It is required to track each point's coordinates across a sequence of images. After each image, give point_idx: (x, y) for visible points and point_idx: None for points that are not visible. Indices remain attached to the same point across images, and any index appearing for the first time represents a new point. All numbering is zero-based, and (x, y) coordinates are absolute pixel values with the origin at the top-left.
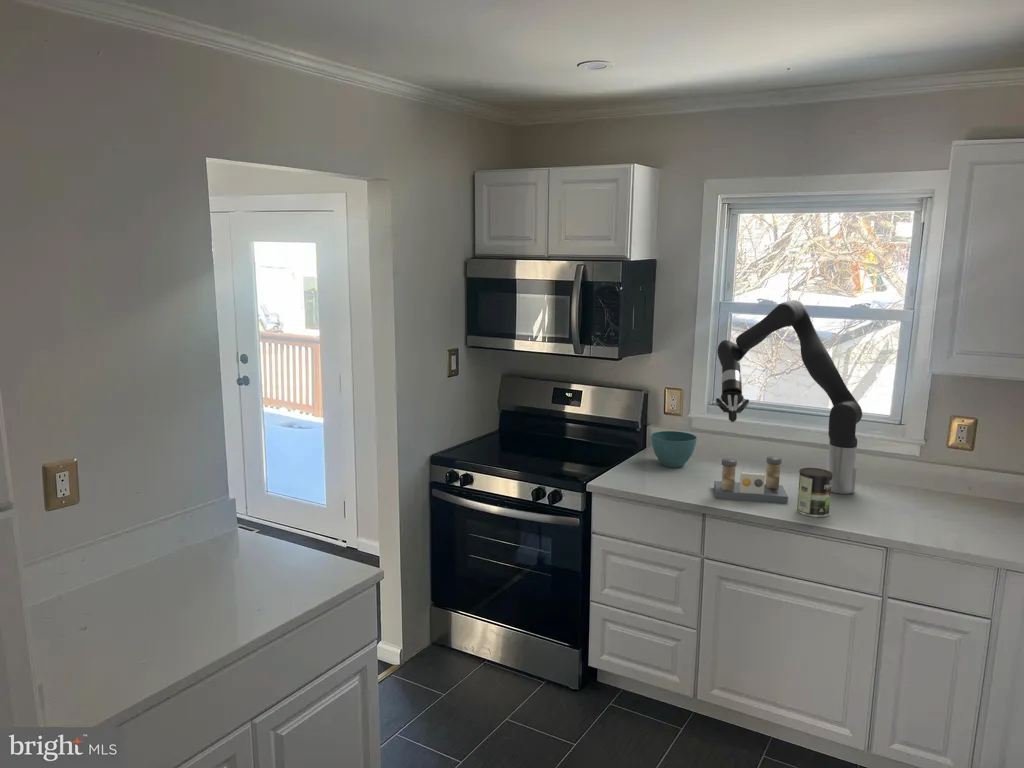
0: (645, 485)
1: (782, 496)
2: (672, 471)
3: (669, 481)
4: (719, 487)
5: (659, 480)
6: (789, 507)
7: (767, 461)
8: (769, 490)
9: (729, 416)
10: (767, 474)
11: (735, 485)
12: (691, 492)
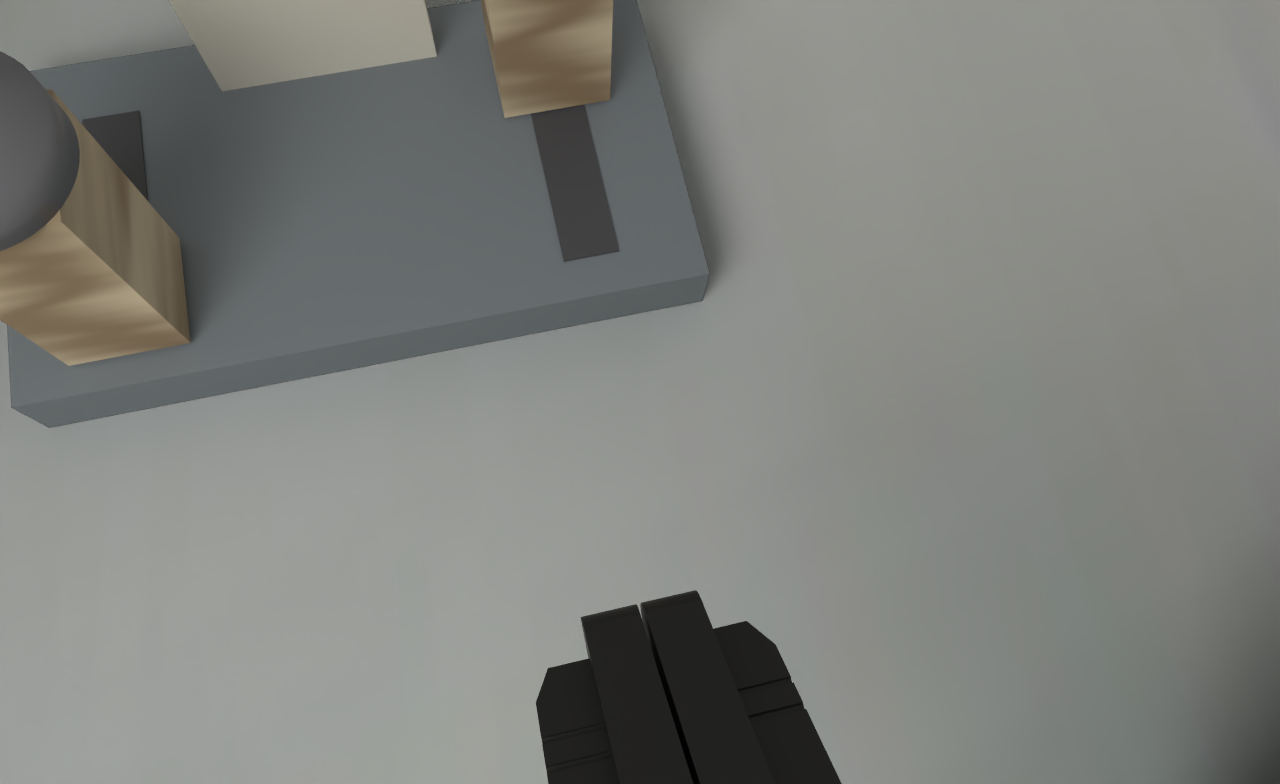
0: (1261, 111)
1: (46, 69)
2: (1236, 670)
3: (1128, 306)
4: (626, 94)
5: (1220, 298)
6: (23, 32)
7: (56, 103)
8: (159, 188)
9: (771, 673)
10: (124, 203)
11: (490, 211)
12: (852, 86)
